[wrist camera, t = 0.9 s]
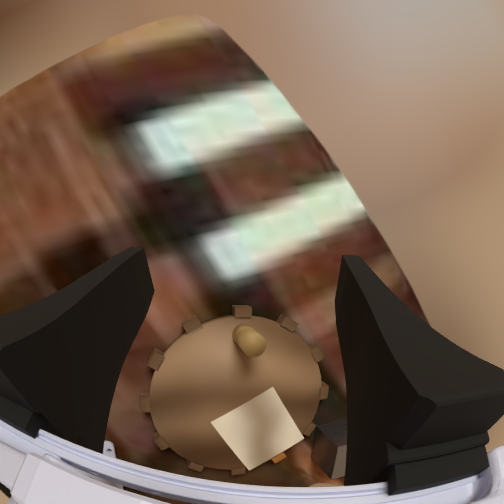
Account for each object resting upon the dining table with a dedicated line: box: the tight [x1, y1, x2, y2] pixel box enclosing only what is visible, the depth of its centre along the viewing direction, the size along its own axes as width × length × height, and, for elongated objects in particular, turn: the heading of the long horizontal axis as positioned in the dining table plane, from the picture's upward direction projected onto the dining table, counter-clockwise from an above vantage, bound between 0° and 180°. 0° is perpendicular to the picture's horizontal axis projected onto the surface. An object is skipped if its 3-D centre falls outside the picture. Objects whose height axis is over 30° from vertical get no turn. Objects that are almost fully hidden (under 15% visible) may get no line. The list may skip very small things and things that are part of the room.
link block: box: [311, 418, 347, 480], centre depth 28 cm, size 4×4×5 cm
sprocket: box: [140, 305, 329, 475], centre depth 24 cm, size 18×18×5 cm
